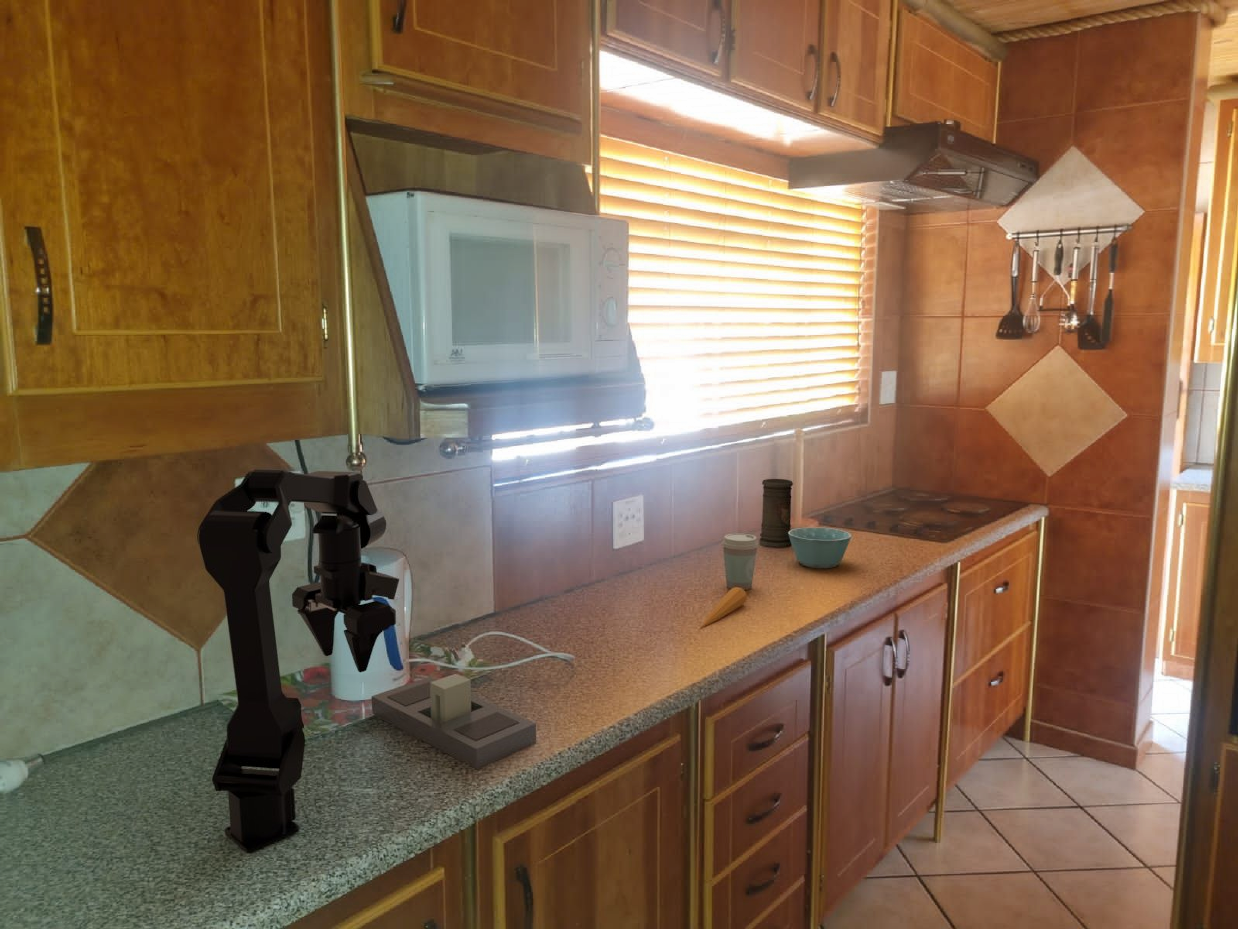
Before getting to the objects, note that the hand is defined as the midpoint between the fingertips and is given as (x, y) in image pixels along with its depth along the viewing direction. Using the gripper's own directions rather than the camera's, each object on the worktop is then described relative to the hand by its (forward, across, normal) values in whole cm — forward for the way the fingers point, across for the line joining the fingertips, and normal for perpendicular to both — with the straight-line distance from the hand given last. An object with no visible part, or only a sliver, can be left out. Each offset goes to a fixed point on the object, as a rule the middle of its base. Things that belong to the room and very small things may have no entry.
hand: (345, 663), depth 131 cm
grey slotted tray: (+12, -8, -13) cm, 19 cm away
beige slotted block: (+12, -8, -13) cm, 19 cm away
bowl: (+12, +1, -136) cm, 137 cm away
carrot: (+12, -5, -85) cm, 86 cm away
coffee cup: (+12, +4, -105) cm, 106 cm away
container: (+12, +21, -147) cm, 149 cm away
